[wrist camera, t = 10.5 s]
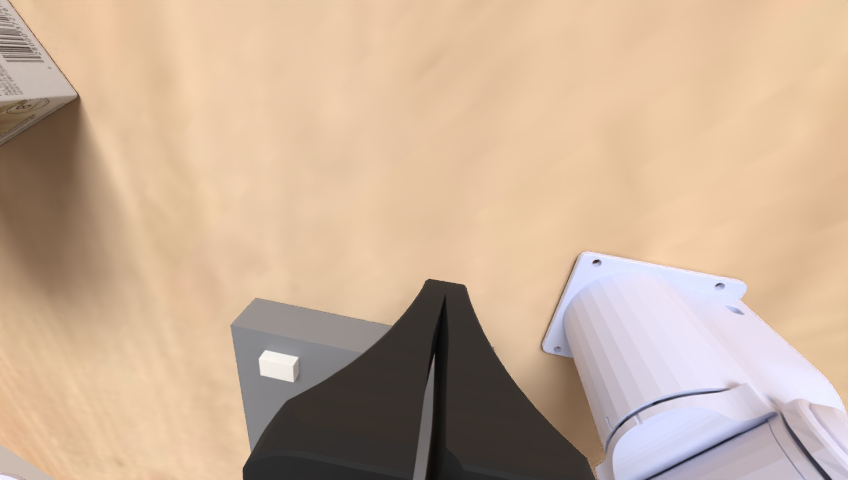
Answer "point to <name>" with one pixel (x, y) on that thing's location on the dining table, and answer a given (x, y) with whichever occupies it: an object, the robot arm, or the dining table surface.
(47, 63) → the coffee box
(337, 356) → the socket plate
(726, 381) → the robot arm
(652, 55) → the dining table surface
